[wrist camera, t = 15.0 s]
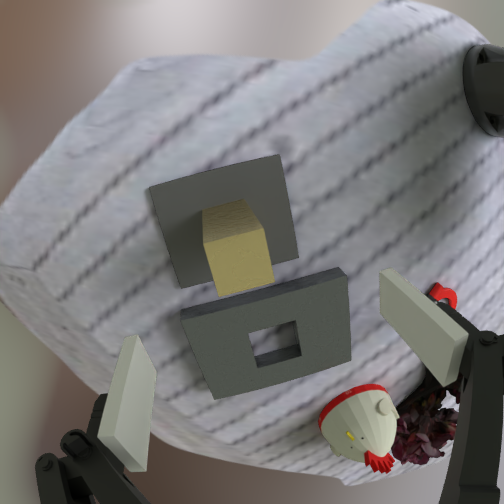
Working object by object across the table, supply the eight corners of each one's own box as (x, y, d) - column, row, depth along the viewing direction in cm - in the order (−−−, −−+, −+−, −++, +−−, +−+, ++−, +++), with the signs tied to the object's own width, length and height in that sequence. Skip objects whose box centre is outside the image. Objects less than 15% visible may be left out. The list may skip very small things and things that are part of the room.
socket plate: (338, 267, 39) (346, 275, 36) (344, 350, 44) (351, 360, 42) (181, 309, 37) (180, 320, 35) (213, 387, 43) (214, 399, 40)
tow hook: (459, 298, 46) (438, 275, 42) (507, 338, 34) (494, 318, 31) (429, 336, 47) (405, 318, 44) (473, 381, 36) (455, 369, 32)
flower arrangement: (453, 311, 46) (507, 359, 32) (492, 333, 52) (534, 370, 38) (355, 434, 54) (383, 489, 40) (410, 434, 60) (437, 477, 46)
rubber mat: (278, 154, 33) (279, 154, 32) (297, 255, 37) (298, 257, 37) (150, 186, 32) (149, 187, 31) (181, 286, 36) (181, 288, 36)
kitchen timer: (356, 375, 47) (397, 442, 33) (399, 392, 51) (436, 447, 37) (302, 426, 49) (327, 494, 36) (350, 437, 54) (377, 493, 40)
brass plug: (243, 198, 33) (263, 228, 23) (252, 237, 35) (274, 281, 25) (202, 209, 33) (203, 243, 23) (212, 248, 34) (219, 296, 24)
